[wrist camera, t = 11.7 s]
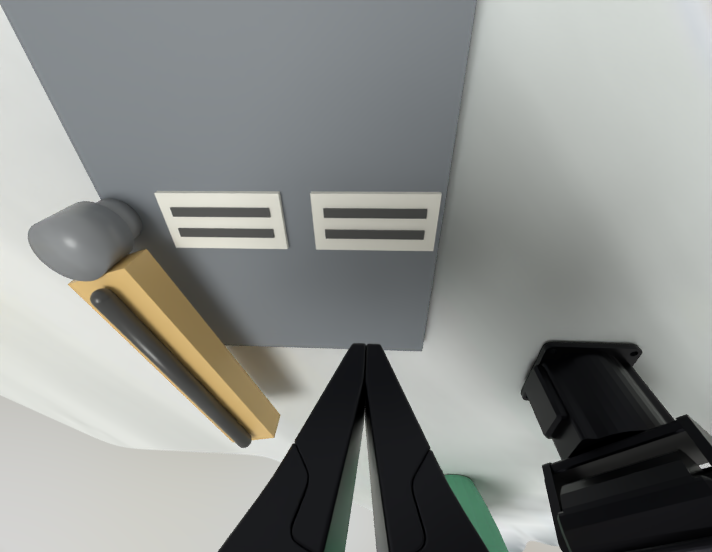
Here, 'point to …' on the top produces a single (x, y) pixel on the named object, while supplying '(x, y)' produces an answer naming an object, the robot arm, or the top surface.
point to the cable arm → (152, 316)
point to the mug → (477, 512)
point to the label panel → (268, 150)
